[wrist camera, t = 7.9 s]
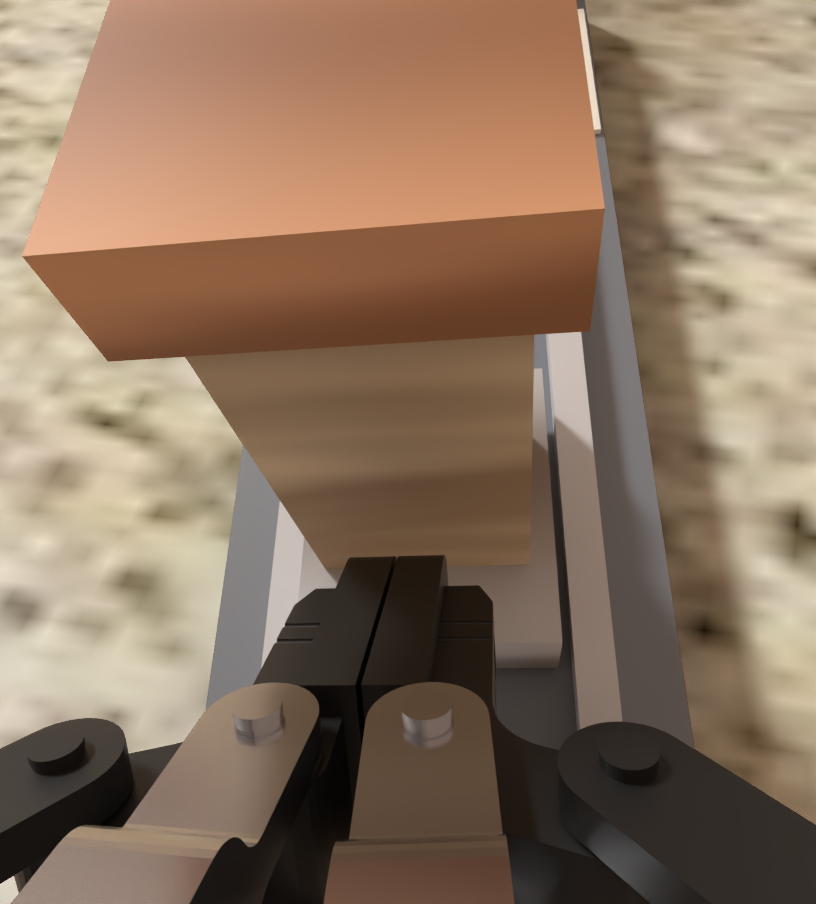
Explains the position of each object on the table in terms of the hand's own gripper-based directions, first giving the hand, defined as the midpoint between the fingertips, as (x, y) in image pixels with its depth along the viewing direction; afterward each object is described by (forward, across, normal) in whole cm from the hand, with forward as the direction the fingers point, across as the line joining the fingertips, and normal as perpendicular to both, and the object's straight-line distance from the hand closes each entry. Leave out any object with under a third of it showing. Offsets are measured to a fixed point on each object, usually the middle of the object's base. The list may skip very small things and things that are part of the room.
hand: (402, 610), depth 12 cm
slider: (+5, 0, +1) cm, 5 cm away
